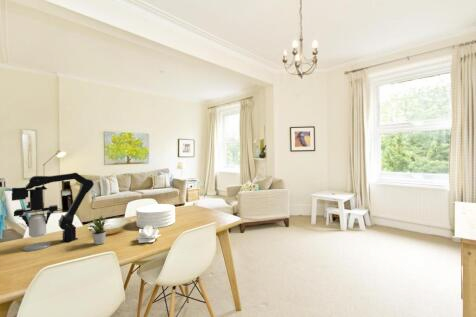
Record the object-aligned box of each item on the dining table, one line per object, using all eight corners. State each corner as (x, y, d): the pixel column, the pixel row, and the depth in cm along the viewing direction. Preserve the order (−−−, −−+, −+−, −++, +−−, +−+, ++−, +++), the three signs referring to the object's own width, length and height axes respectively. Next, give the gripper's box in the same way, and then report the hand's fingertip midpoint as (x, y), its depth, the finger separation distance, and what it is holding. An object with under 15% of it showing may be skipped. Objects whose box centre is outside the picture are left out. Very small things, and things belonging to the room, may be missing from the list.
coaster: (56, 243, 138) (56, 242, 138) (34, 252, 127) (34, 250, 127) (40, 242, 141) (40, 241, 141) (17, 250, 129) (17, 248, 129)
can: (36, 238, 129) (35, 216, 129) (25, 237, 131) (24, 215, 131) (49, 233, 137) (49, 213, 137) (39, 232, 138) (38, 212, 138)
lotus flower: (138, 246, 133) (137, 230, 133) (132, 238, 146) (132, 224, 146) (163, 240, 142) (163, 226, 141) (156, 234, 154) (156, 220, 154)
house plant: (87, 240, 144) (86, 213, 144) (112, 236, 149) (112, 211, 149) (82, 248, 131) (81, 219, 131) (110, 244, 136) (109, 216, 136)
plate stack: (182, 220, 185) (182, 206, 185) (152, 230, 161) (152, 214, 161) (159, 216, 200) (158, 202, 200) (128, 224, 176) (128, 209, 176)
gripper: (57, 194, 146) (58, 219, 146) (16, 198, 134) (17, 225, 135) (57, 196, 137) (57, 223, 137) (13, 201, 126) (14, 230, 126)
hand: (37, 225), depth 134 cm, fingers closed on can, 7 cm apart
